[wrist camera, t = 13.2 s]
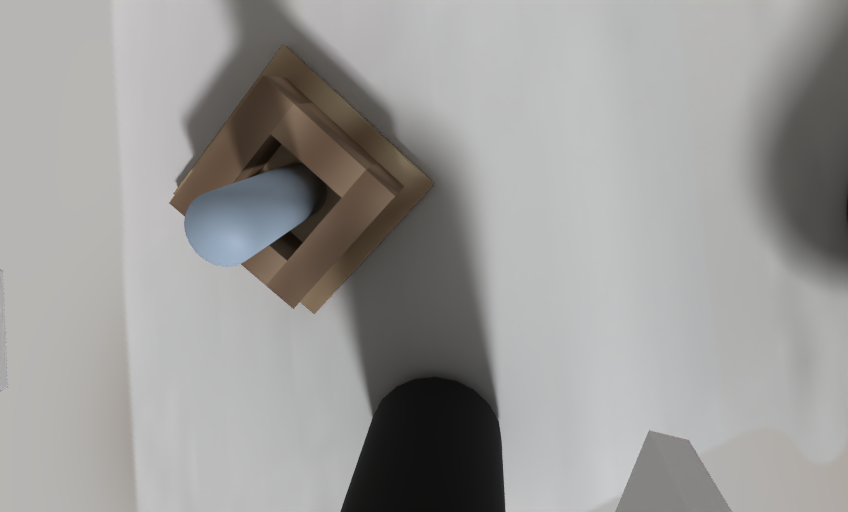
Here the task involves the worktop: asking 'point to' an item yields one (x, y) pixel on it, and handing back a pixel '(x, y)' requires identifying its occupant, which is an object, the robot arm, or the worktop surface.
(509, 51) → the worktop surface
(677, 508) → the robot arm
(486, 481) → the coffee jar
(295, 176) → the dowel
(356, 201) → the socket block
